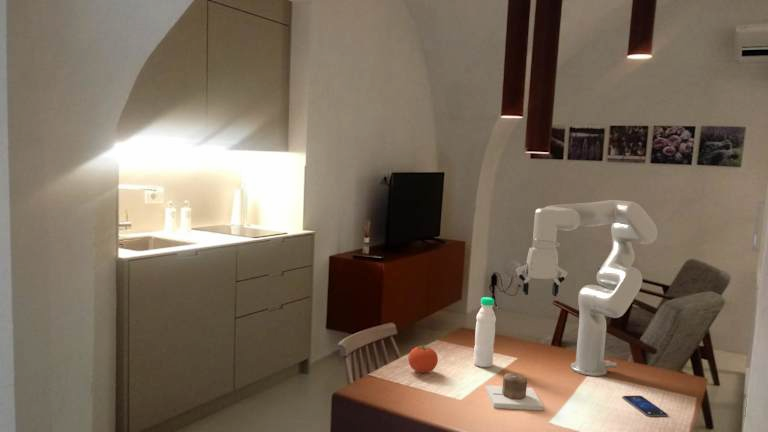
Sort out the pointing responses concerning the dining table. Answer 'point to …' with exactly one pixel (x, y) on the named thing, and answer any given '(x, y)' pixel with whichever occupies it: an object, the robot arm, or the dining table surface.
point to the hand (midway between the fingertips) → (539, 294)
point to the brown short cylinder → (514, 386)
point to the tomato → (423, 359)
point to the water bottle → (485, 334)
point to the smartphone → (645, 406)
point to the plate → (504, 402)
